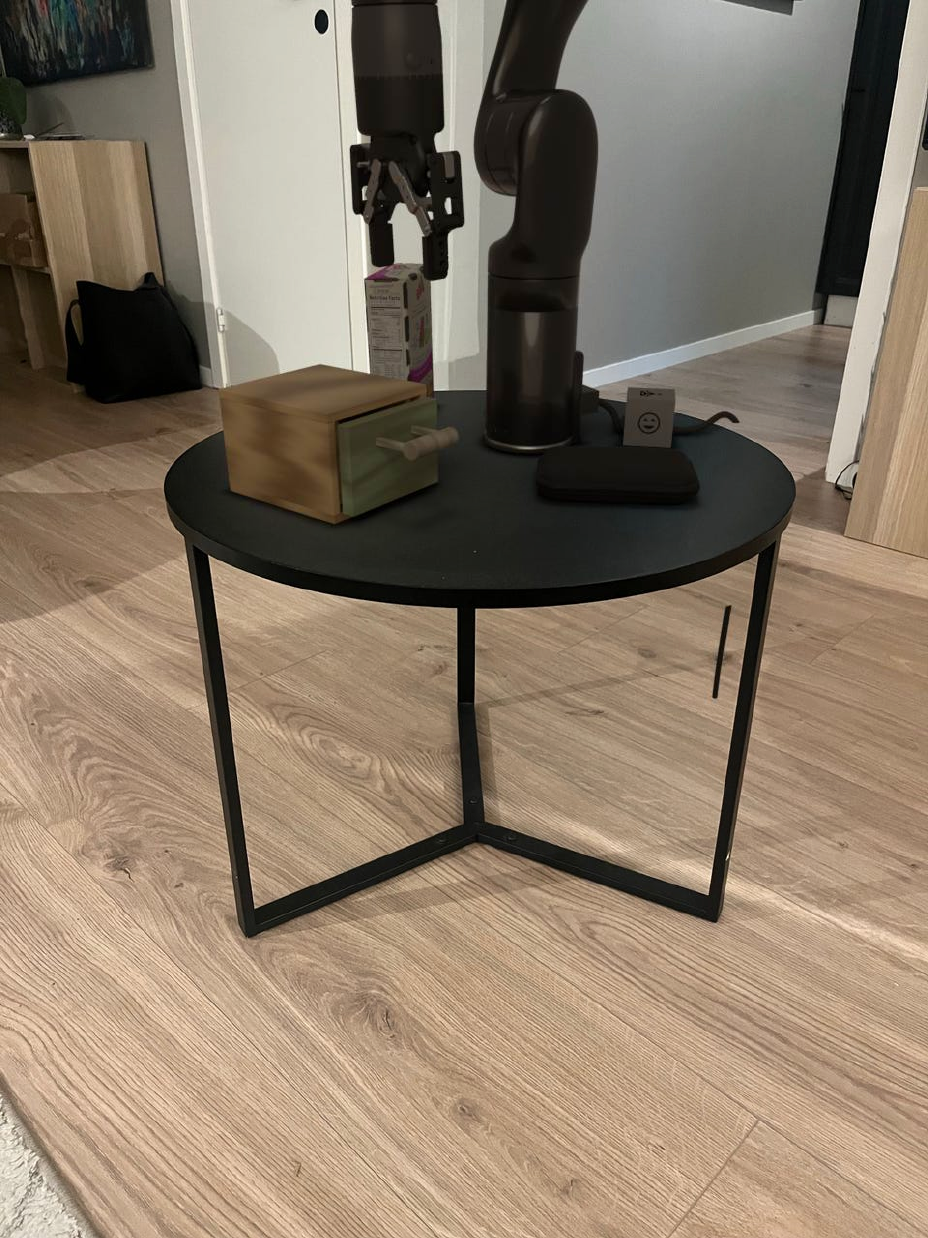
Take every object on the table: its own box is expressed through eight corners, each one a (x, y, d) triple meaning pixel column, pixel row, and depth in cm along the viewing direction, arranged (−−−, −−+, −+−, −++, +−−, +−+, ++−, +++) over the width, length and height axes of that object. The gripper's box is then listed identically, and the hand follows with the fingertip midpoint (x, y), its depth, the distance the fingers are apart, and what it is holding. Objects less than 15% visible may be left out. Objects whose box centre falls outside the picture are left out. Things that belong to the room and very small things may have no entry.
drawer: (479, 492, 86) (480, 407, 82) (395, 530, 78) (392, 437, 74) (341, 456, 95) (336, 378, 92) (254, 486, 87) (245, 402, 84)
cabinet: (428, 485, 90) (426, 384, 86) (334, 524, 82) (327, 414, 77) (326, 458, 98) (320, 363, 93) (230, 491, 89) (218, 388, 84)
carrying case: (687, 471, 94) (538, 466, 95) (691, 441, 92) (539, 436, 94) (700, 510, 84) (534, 504, 86) (704, 477, 83) (535, 472, 84)
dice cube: (624, 431, 106) (627, 386, 104) (670, 434, 105) (674, 388, 103) (623, 445, 102) (626, 398, 99) (670, 447, 101) (675, 400, 99)
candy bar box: (395, 404, 116) (390, 262, 109) (435, 406, 116) (433, 263, 108) (369, 429, 107) (361, 275, 99) (412, 432, 106) (408, 277, 98)
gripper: (486, 68, 77) (488, 278, 85) (388, 68, 86) (399, 256, 95) (409, 72, 73) (420, 291, 81) (316, 71, 83) (334, 267, 91)
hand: (408, 272), depth 88 cm, fingers open, 8 cm apart
